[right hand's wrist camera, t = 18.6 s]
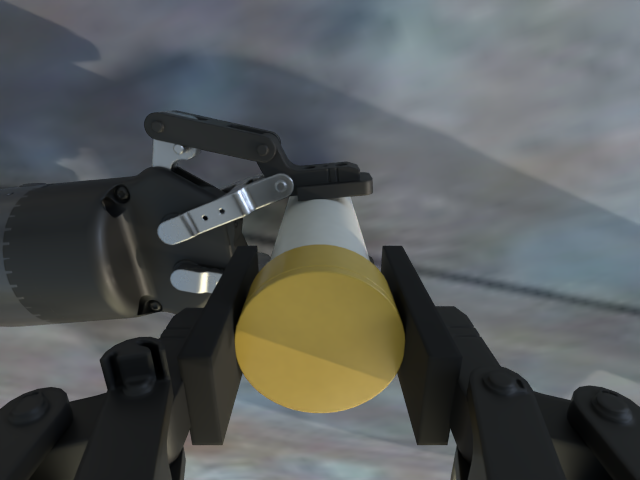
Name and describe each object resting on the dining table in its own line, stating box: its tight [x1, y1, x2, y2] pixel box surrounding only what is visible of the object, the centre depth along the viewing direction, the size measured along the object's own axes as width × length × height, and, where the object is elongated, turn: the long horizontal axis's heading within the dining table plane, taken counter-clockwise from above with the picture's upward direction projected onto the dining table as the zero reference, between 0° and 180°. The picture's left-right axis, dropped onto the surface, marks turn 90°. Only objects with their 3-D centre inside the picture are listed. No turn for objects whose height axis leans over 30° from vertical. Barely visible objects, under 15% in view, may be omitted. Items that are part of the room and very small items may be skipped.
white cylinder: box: [270, 196, 370, 261], centre depth 18 cm, size 4×4×16 cm
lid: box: [234, 244, 405, 413], centre depth 11 cm, size 5×5×2 cm
